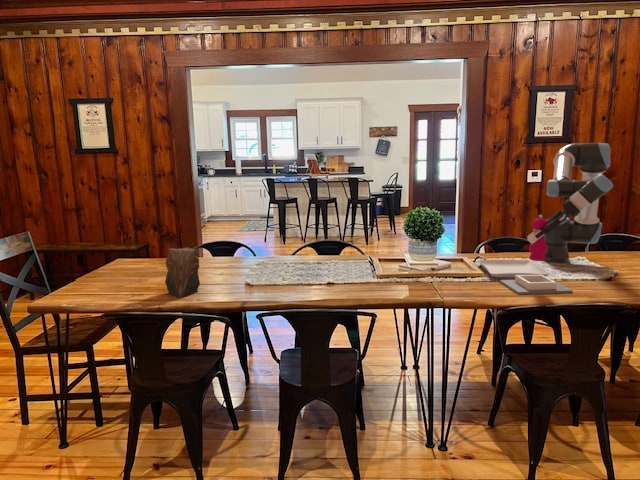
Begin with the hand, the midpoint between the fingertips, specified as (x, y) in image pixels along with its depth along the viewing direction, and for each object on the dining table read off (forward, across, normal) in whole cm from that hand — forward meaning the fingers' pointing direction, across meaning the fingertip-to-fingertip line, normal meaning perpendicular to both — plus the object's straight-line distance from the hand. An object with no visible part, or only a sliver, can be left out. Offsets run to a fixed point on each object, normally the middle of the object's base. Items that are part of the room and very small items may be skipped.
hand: (529, 240), depth 203 cm
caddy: (+12, 0, -18) cm, 22 cm away
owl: (+115, -62, +85) cm, 156 cm away
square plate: (+20, +24, -11) cm, 33 cm away
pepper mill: (+3, 0, -9) cm, 9 cm away
